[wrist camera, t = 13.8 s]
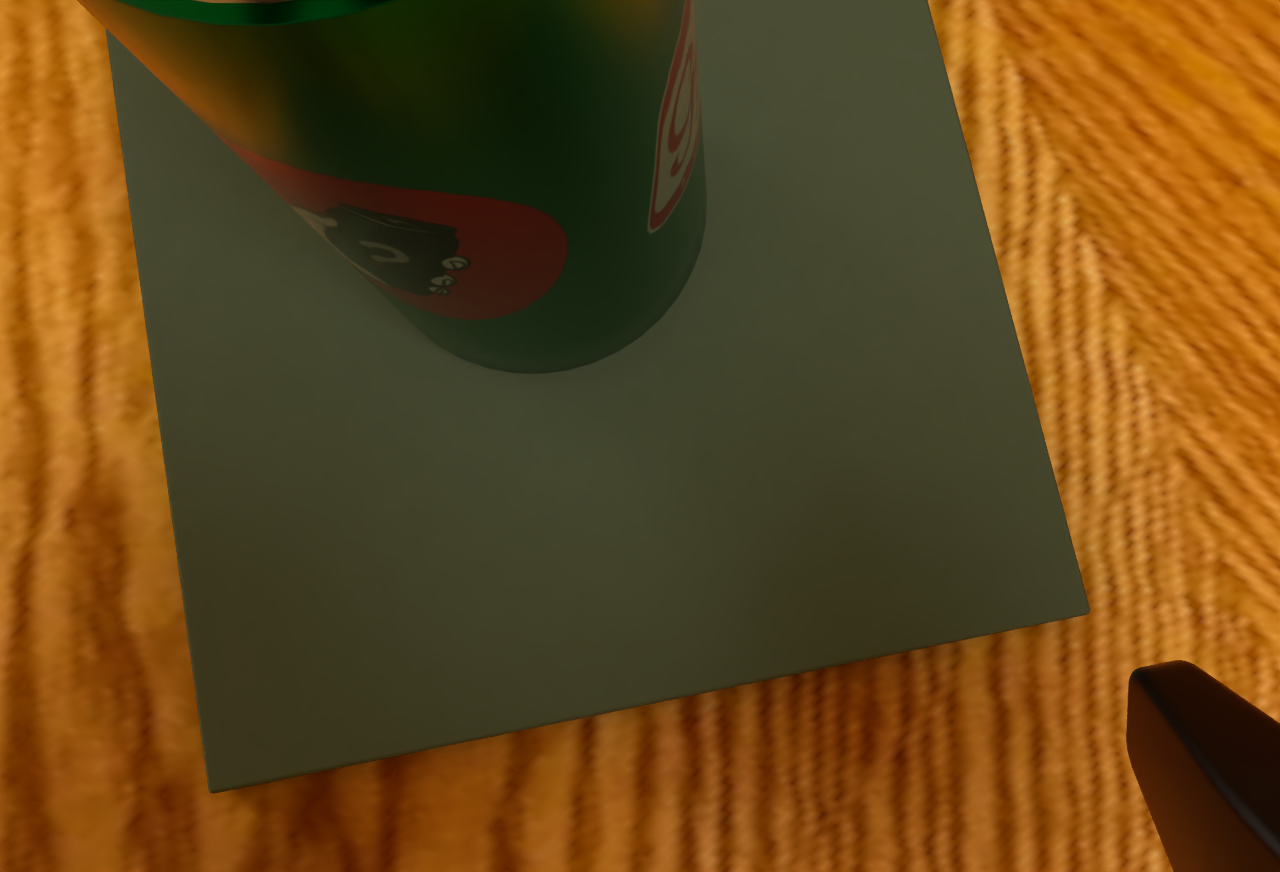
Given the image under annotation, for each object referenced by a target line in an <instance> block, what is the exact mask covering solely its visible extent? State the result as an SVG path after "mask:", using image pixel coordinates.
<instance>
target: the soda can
mask: <svg viewBox="0 0 1280 872" xmlns="http://www.w3.org/2000/svg"><path fill="white" fill-rule="evenodd" d="M77 1H78V2H79V3H80V4H81V5H82V6H84V7H85V8H86V9H87V10H88V11H89V12H90V13H91V14H92V15H93V16H94V17H95V18H96V19H97V20H98V21H99V22H100V23H101V24H102V25H103V26H104V27H105V28H106V29H107V30H108V31H109V32H110V33H112V34H113V35H114V36H115V37H116V38H117V39H118V40H119V41H120V42H121V43H122V44H123V45H124V46H125V47H126V48H127V49H128V50H129V51H130V52H131V53H132V54H133V55H134V56H135V57H136V58H137V59H138V60H140V61H141V62H142V63H143V64H144V65H145V66H146V67H147V68H148V69H149V70H150V71H151V72H152V73H153V74H154V75H155V76H156V77H157V78H158V79H159V80H160V81H161V82H162V83H163V84H164V85H165V86H166V87H168V88H169V89H170V90H171V91H172V92H173V93H174V94H175V95H176V96H177V97H178V98H179V99H180V100H181V101H182V102H183V103H184V104H185V105H186V106H187V107H188V108H189V109H190V110H191V111H192V112H193V113H194V114H196V115H197V116H198V117H199V118H200V119H201V120H202V121H203V122H204V123H205V124H206V125H207V126H208V127H209V128H210V129H211V130H212V131H213V132H214V133H215V134H216V135H217V136H218V137H219V138H220V139H221V140H222V141H224V142H225V143H226V144H227V145H228V146H229V147H230V148H231V149H232V150H233V151H234V152H235V153H236V154H237V155H238V156H239V157H240V158H241V159H242V160H243V161H244V162H245V163H246V164H247V165H248V166H249V167H250V168H252V169H253V170H254V171H255V172H256V173H257V174H258V175H259V176H260V177H261V178H262V179H263V180H264V181H265V182H266V183H267V184H268V185H269V186H270V187H271V188H272V189H273V190H274V191H275V192H276V193H277V194H278V195H280V196H281V197H282V198H283V199H284V200H285V201H286V202H287V203H288V204H289V205H290V206H291V207H292V208H293V209H294V210H295V211H296V212H297V213H298V214H299V215H300V216H301V217H302V218H303V219H304V220H305V221H306V222H308V223H309V224H310V225H311V226H312V227H313V228H314V229H315V230H316V231H317V232H318V233H319V234H320V235H321V236H322V237H323V238H324V239H325V240H326V241H327V242H328V243H329V244H330V245H331V246H332V247H333V248H334V249H336V250H337V251H338V252H339V253H340V254H341V255H342V256H343V257H344V258H345V259H346V260H347V261H348V262H349V263H350V264H351V265H352V266H353V267H354V268H355V269H356V270H357V271H358V272H359V273H360V274H361V275H362V276H364V277H365V278H366V279H367V280H368V281H369V282H370V283H371V284H372V285H373V286H374V287H375V288H376V289H377V290H378V291H379V292H380V293H381V294H382V295H383V296H384V297H385V298H386V299H387V300H388V301H389V302H390V303H392V304H393V305H394V306H395V307H396V308H397V309H398V310H399V311H400V312H401V313H402V314H403V315H404V316H405V317H406V318H407V319H408V320H409V321H410V322H411V323H412V324H413V325H414V326H415V327H416V328H417V329H418V330H420V331H421V332H422V333H423V334H425V335H426V336H427V337H428V338H430V339H431V340H432V341H433V342H435V343H436V344H437V345H438V346H440V347H442V348H443V349H445V350H447V351H449V352H450V353H452V354H454V355H456V356H458V357H459V358H461V359H464V360H466V361H469V362H472V363H474V364H477V365H480V366H483V367H485V368H490V369H495V370H500V371H505V372H510V373H528V374H543V373H551V372H559V371H567V370H571V369H574V368H578V367H581V366H585V365H588V364H592V363H595V362H597V361H599V360H601V359H603V358H606V357H608V356H610V355H612V354H614V353H617V352H618V351H620V350H621V349H623V348H624V347H626V346H628V345H629V344H631V343H632V342H634V341H635V340H637V339H638V338H640V337H641V336H642V335H643V334H644V333H645V332H647V331H648V330H649V329H650V328H651V327H652V326H653V325H654V324H655V323H657V322H658V321H659V320H660V319H661V318H662V317H663V315H664V314H665V313H666V312H667V310H668V309H669V308H670V307H671V306H672V304H673V303H674V302H675V301H676V299H677V298H678V297H679V295H680V293H681V291H682V290H683V288H684V286H685V284H686V283H687V281H688V279H689V278H690V276H691V274H692V271H693V269H694V266H695V263H696V261H697V258H698V256H699V253H700V251H701V246H702V241H703V236H704V232H705V227H706V212H707V190H706V175H705V160H704V145H703V131H702V116H701V101H700V86H699V71H698V56H697V41H696V26H695V11H694V0H77Z"/></svg>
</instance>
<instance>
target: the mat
mask: <svg viewBox="0 0 1280 872" xmlns="http://www.w3.org/2000/svg"><path fill="white" fill-rule="evenodd" d="M694 11H695V26H696V41H697V56H698V71H699V86H700V101H701V116H702V131H703V145H704V160H705V175H706V190H707V212H706V227H705V232H704V236H703V241H702V246H701V251H700V253H699V256H698V258H697V261H696V263H695V266H694V269H693V271H692V274H691V276H690V278H689V279H688V281H687V283H686V284H685V286H684V288H683V290H682V291H681V293H680V295H679V297H678V298H677V299H676V301H675V302H674V303H673V304H672V306H671V307H670V308H669V309H668V310H667V312H666V313H665V314H664V315H663V317H662V318H661V319H660V320H659V321H658V322H657V323H655V324H654V325H653V326H652V327H651V328H650V329H649V330H648V331H647V332H645V333H644V334H643V335H642V336H641V337H640V338H638V339H637V340H635V341H634V342H632V343H631V344H629V345H628V346H626V347H624V348H623V349H621V350H620V351H618V352H617V353H614V354H612V355H610V356H608V357H606V358H603V359H601V360H599V361H597V362H595V363H592V364H588V365H585V366H581V367H578V368H574V369H571V370H567V371H559V372H551V373H543V374H528V373H510V372H505V371H500V370H495V369H490V368H485V367H483V366H480V365H477V364H474V363H472V362H469V361H466V360H464V359H461V358H459V357H458V356H456V355H454V354H452V353H450V352H449V351H447V350H445V349H443V348H442V347H440V346H438V345H437V344H436V343H435V342H433V341H432V340H431V339H430V338H428V337H427V336H426V335H425V334H423V333H422V332H421V331H420V330H418V329H417V328H416V327H415V326H414V325H413V324H412V323H411V322H410V321H409V320H408V319H407V318H406V317H405V316H404V315H403V314H402V313H401V312H400V311H399V310H398V309H397V308H396V307H395V306H394V305H393V304H392V303H390V302H389V301H388V300H387V299H386V298H385V297H384V296H383V295H382V294H381V293H380V292H379V291H378V290H377V289H376V288H375V287H374V286H373V285H372V284H371V283H370V282H369V281H368V280H367V279H366V278H365V277H364V276H362V275H361V274H360V273H359V272H358V271H357V270H356V269H355V268H354V267H353V266H352V265H351V264H350V263H349V262H348V261H347V260H346V259H345V258H344V257H343V256H342V255H341V254H340V253H339V252H338V251H337V250H336V249H334V248H333V247H332V246H331V245H330V244H329V243H328V242H327V241H326V240H325V239H324V238H323V237H322V236H321V235H320V234H319V233H318V232H317V231H316V230H315V229H314V228H313V227H312V226H311V225H310V224H309V223H308V222H306V221H305V220H304V219H303V218H302V217H301V216H300V215H299V214H298V213H297V212H296V211H295V210H294V209H293V208H292V207H291V206H290V205H289V204H288V203H287V202H286V201H285V200H284V199H283V198H282V197H281V196H280V195H278V194H277V193H276V192H275V191H274V190H273V189H272V188H271V187H270V186H269V185H268V184H267V183H266V182H265V181H264V180H263V179H262V178H261V177H260V176H259V175H258V174H257V173H256V172H255V171H254V170H253V169H252V168H250V167H249V166H248V165H247V164H246V163H245V162H244V161H243V160H242V159H241V158H240V157H239V156H238V155H237V154H236V153H235V152H234V151H233V150H232V149H231V148H230V147H229V146H228V145H227V144H226V143H225V142H224V141H222V140H221V139H220V138H219V137H218V136H217V135H216V134H215V133H214V132H213V131H212V130H211V129H210V128H209V127H208V126H207V125H206V124H205V123H204V122H203V121H202V120H201V119H200V118H199V117H198V116H197V115H196V114H194V113H193V112H192V111H191V110H190V109H189V108H188V107H187V106H186V105H185V104H184V103H183V102H182V101H181V100H180V99H179V98H178V97H177V96H176V95H175V94H174V93H173V92H172V91H171V90H170V89H169V88H168V87H166V86H165V85H164V84H163V83H162V82H161V81H160V80H159V79H158V78H157V77H156V76H155V75H154V74H153V73H152V72H151V71H150V70H149V69H148V68H147V67H146V66H145V65H144V64H143V63H142V62H141V61H140V60H138V59H137V58H136V57H135V56H134V55H133V54H132V53H131V52H130V51H129V50H128V49H127V48H126V47H125V46H124V45H123V44H122V43H121V42H120V41H119V40H118V39H117V38H116V37H115V36H114V35H113V34H112V33H110V32H109V31H108V30H107V29H106V35H107V43H108V50H109V57H110V65H111V72H112V79H113V87H114V94H115V102H116V109H117V116H118V124H119V131H120V138H121V146H122V153H123V161H124V168H125V175H126V183H127V190H128V197H129V205H130V212H131V220H132V227H133V234H134V242H135V249H136V256H137V264H138V271H139V279H140V286H141V293H142V301H143V308H144V315H145V323H146V330H147V338H148V345H149V352H150V360H151V367H152V375H153V382H154V389H155V397H156V404H157V411H158V419H159V426H160V434H161V441H162V448H163V456H164V463H165V470H166V478H167V485H168V493H169V500H170V507H171V515H172V522H173V529H174V537H175V544H176V552H177V559H178V566H179V574H180V581H181V588H182V596H183V603H184V611H185V618H186V625H187V633H188V640H189V647H190V655H191V662H192V670H193V677H194V684H195V692H196V699H197V706H198V714H199V721H200V729H201V736H202V743H203V751H204V758H205V766H206V773H207V780H208V788H209V792H210V793H213V794H214V793H219V792H224V791H229V790H234V789H239V788H244V787H249V786H253V785H258V784H263V783H268V782H273V781H278V780H283V779H288V778H292V777H297V776H302V775H307V774H312V773H317V772H322V771H327V770H331V769H336V768H341V767H346V766H351V765H356V764H361V763H366V762H370V761H375V760H380V759H385V758H390V757H395V756H400V755H405V754H409V753H414V752H419V751H424V750H429V749H434V748H439V747H444V746H448V745H453V744H458V743H463V742H468V741H473V740H478V739H483V738H487V737H492V736H497V735H502V734H507V733H512V732H517V731H522V730H526V729H531V728H536V727H541V726H546V725H551V724H556V723H561V722H565V721H570V720H575V719H580V718H585V717H590V716H595V715H600V714H604V713H609V712H614V711H619V710H624V709H629V708H634V707H639V706H643V705H648V704H653V703H658V702H663V701H668V700H673V699H678V698H682V697H687V696H692V695H697V694H702V693H707V692H712V691H717V690H721V689H726V688H731V687H736V686H741V685H746V684H751V683H756V682H760V681H765V680H770V679H775V678H780V677H785V676H790V675H795V674H800V673H804V672H809V671H814V670H819V669H824V668H829V667H834V666H839V665H843V664H848V663H853V662H858V661H863V660H868V659H873V658H878V657H882V656H887V655H892V654H897V653H902V652H907V651H912V650H917V649H921V648H926V647H931V646H936V645H941V644H946V643H951V642H956V641H960V640H965V639H970V638H975V637H980V636H985V635H990V634H995V633H999V632H1004V631H1009V630H1014V629H1019V628H1024V627H1029V626H1034V625H1038V624H1043V623H1048V622H1053V621H1058V620H1063V619H1068V618H1073V617H1077V616H1082V615H1087V614H1088V613H1090V607H1089V604H1088V600H1087V596H1086V592H1085V589H1084V585H1083V581H1082V577H1081V574H1080V570H1079V566H1078V563H1077V559H1076V555H1075V551H1074V548H1073V544H1072V540H1071V536H1070V533H1069V529H1068V525H1067V521H1066V518H1065V514H1064V510H1063V506H1062V503H1061V499H1060V495H1059V491H1058V488H1057V484H1056V480H1055V476H1054V473H1053V469H1052V465H1051V461H1050V458H1049V454H1048V450H1047V446H1046V443H1045V439H1044V435H1043V432H1042V428H1041V424H1040V420H1039V417H1038V413H1037V409H1036V405H1035V402H1034V398H1033V394H1032V390H1031V387H1030V383H1029V379H1028V375H1027V372H1026V368H1025V364H1024V360H1023V357H1022V353H1021V349H1020V345H1019V342H1018V338H1017V334H1016V330H1015V327H1014V323H1013V319H1012V315H1011V312H1010V308H1009V304H1008V301H1007V297H1006V293H1005V289H1004V286H1003V282H1002V278H1001V274H1000V271H999V267H998V263H997V259H996V256H995V252H994V248H993V244H992V241H991V237H990V233H989V229H988V226H987V222H986V218H985V214H984V211H983V207H982V203H981V199H980V196H979V192H978V188H977V184H976V181H975V177H974V173H973V170H972V166H971V162H970V158H969V155H968V151H967V147H966V143H965V140H964V136H963V132H962V128H961V125H960V121H959V117H958V113H957V110H956V106H955V102H954V98H953V95H952V91H951V87H950V83H949V80H948V76H947V72H946V68H945V65H944V61H943V57H942V53H941V50H940V46H939V42H938V39H937V35H936V31H935V27H934V24H933V20H932V16H931V12H930V9H929V5H928V1H927V0H694Z"/></svg>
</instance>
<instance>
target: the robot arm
mask: <svg viewBox="0 0 1280 872" xmlns="http://www.w3.org/2000/svg"><path fill="white" fill-rule="evenodd" d="M1126 742H1127V750H1128V754H1129V758H1130V762H1131V765H1132V768H1133V771H1134V774H1135V776H1136V779H1137V781H1138V784H1139V786H1140V789H1141V791H1142V794H1143V796H1144V799H1145V801H1146V804H1147V806H1148V809H1149V811H1150V814H1151V816H1152V819H1153V821H1154V824H1155V826H1156V829H1157V831H1158V833H1159V836H1160V838H1161V841H1162V843H1163V846H1164V848H1165V851H1166V853H1167V856H1168V858H1169V861H1170V863H1171V866H1172V868H1173V871H1174V872H1280V723H1278V722H1277V721H1275V720H1274V719H1273V718H1271V717H1270V716H1268V715H1267V714H1265V713H1264V712H1262V711H1261V710H1260V709H1258V708H1257V707H1255V706H1254V705H1252V704H1251V703H1249V702H1248V701H1246V700H1245V699H1244V698H1242V697H1241V696H1239V695H1238V694H1236V693H1235V692H1233V691H1232V690H1231V689H1229V688H1228V687H1226V686H1225V685H1223V684H1222V683H1220V682H1219V681H1217V680H1216V679H1215V678H1213V677H1212V676H1210V675H1209V674H1207V673H1206V672H1204V671H1203V670H1202V669H1200V668H1199V667H1197V666H1196V665H1194V664H1192V663H1190V662H1187V661H1183V660H1175V661H1170V662H1165V663H1160V664H1155V665H1150V666H1145V667H1140V668H1138V669H1136V670H1134V671H1133V672H1132V674H1131V676H1130V679H1129V686H1128V709H1127V732H1126Z"/></svg>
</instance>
